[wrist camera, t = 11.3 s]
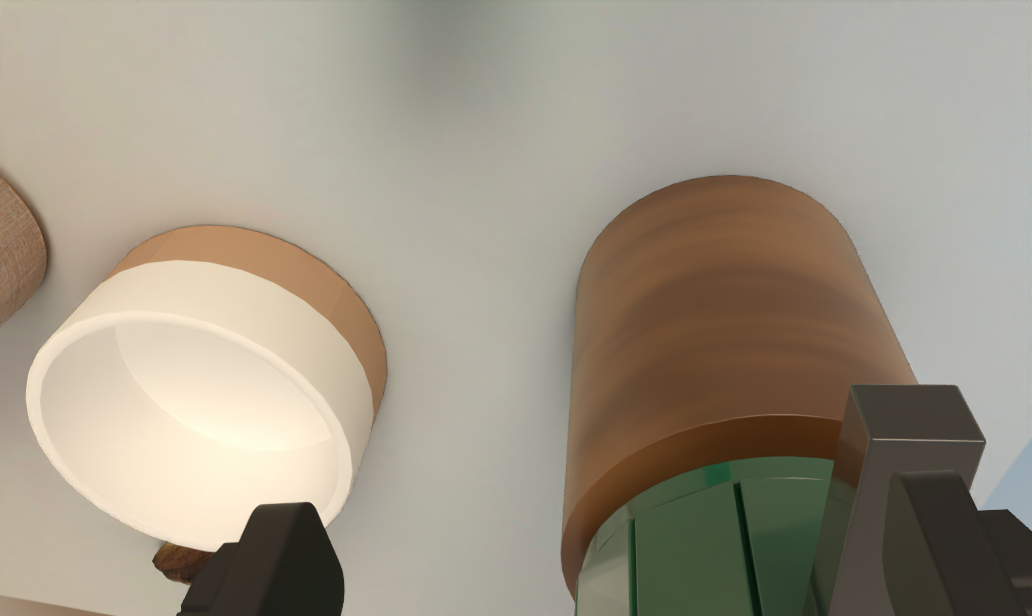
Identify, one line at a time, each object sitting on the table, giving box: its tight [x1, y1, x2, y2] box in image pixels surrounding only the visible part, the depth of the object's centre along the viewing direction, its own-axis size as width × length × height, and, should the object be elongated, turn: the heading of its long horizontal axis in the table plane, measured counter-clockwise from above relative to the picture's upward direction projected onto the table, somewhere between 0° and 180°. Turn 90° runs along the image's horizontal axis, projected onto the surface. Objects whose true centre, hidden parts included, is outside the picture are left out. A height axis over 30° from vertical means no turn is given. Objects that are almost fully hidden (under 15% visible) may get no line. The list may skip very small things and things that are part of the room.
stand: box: [561, 175, 918, 602], centre depth 38 cm, size 15×15×18 cm
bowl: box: [25, 225, 387, 552], centre depth 47 cm, size 17×17×8 cm
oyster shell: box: [152, 542, 215, 585], centre depth 60 cm, size 6×4×10 cm
